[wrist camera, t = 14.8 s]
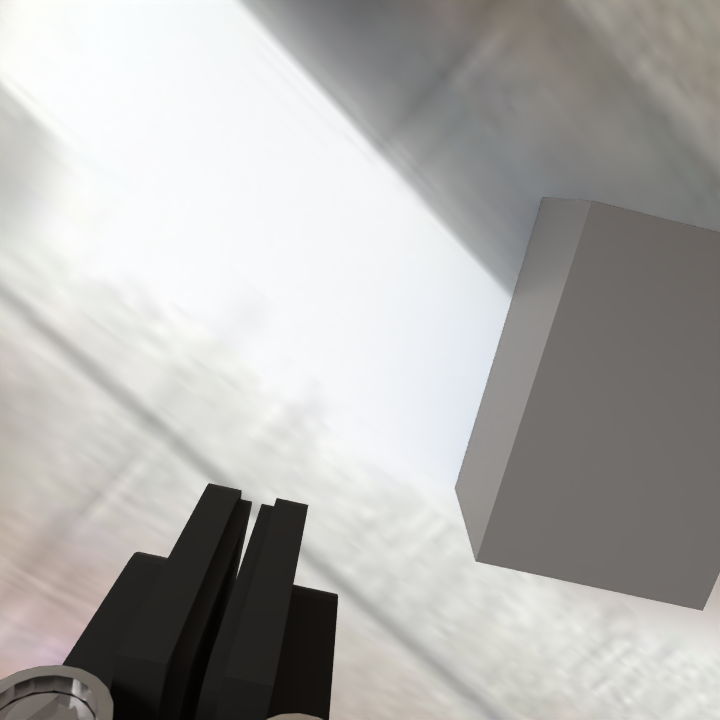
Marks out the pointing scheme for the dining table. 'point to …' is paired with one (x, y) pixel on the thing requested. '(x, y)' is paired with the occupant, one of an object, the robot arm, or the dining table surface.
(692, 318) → the block
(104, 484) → the dining table surface
